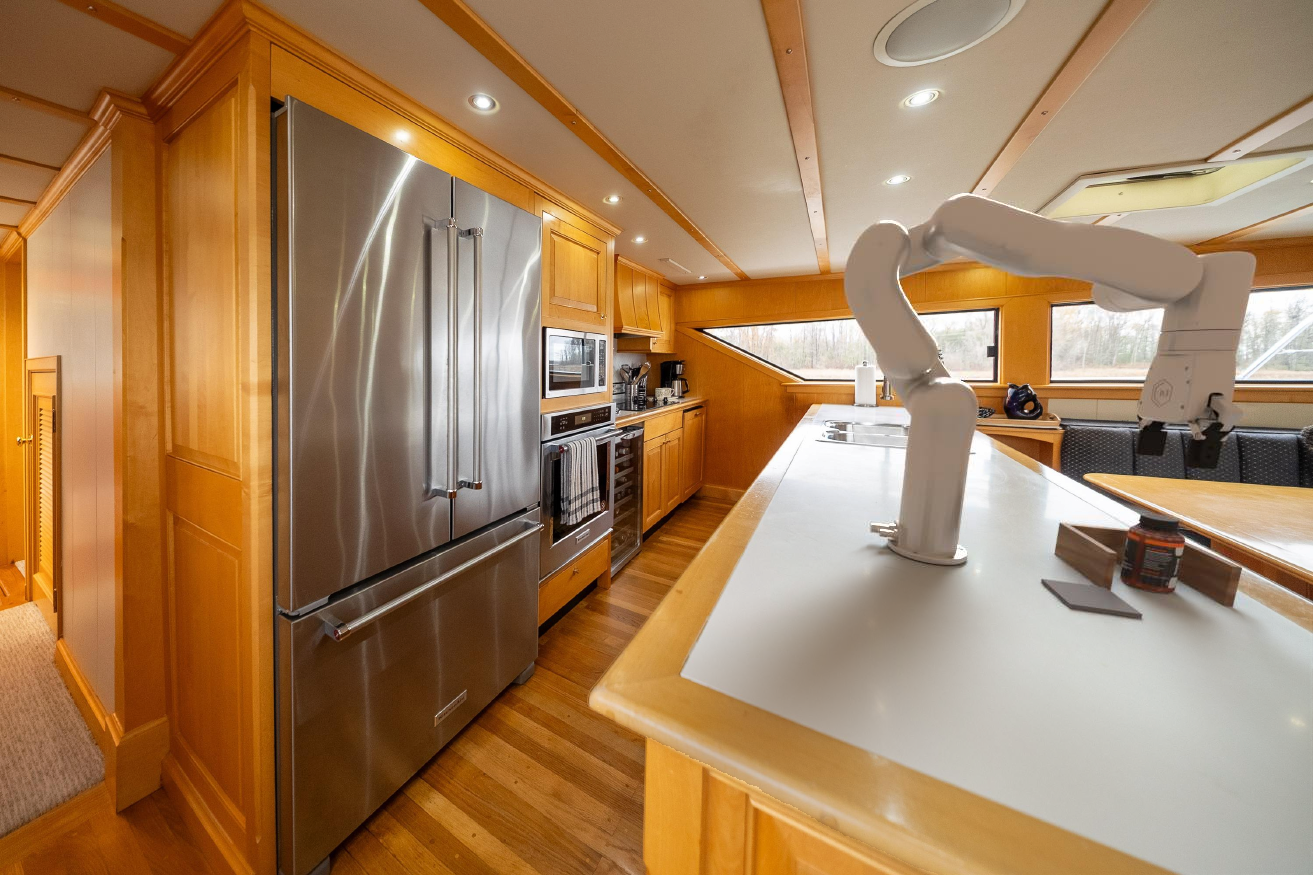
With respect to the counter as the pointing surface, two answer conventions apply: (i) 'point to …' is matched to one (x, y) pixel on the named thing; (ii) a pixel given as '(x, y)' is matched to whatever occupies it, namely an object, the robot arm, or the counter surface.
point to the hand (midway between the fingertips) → (1172, 461)
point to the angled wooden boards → (1105, 547)
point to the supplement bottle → (1153, 554)
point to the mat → (1090, 598)
